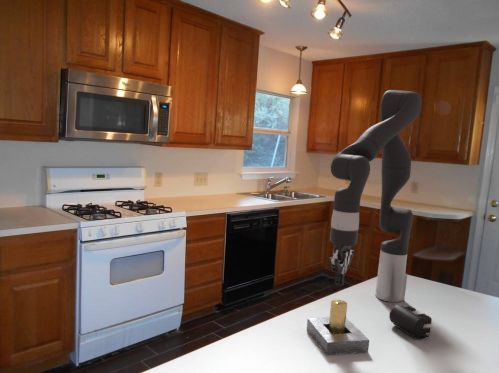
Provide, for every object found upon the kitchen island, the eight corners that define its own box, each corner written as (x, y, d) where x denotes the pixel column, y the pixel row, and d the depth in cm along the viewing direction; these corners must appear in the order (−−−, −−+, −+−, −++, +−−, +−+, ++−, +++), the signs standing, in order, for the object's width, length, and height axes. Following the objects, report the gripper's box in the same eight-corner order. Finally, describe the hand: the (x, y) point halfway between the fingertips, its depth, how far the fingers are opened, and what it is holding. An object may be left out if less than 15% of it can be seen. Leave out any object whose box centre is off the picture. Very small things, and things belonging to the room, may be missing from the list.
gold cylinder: (339, 335, 116) (342, 299, 115) (346, 343, 112) (350, 305, 111) (324, 336, 115) (328, 299, 114) (331, 344, 111) (335, 306, 110)
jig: (344, 327, 122) (345, 316, 121) (368, 352, 108) (369, 339, 108) (306, 329, 119) (307, 318, 119) (326, 355, 105) (327, 342, 105)
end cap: (387, 326, 125) (390, 305, 124) (405, 323, 128) (407, 302, 127) (412, 341, 116) (415, 319, 115) (430, 338, 119) (433, 316, 118)
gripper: (348, 233, 106) (342, 296, 108) (366, 224, 117) (360, 282, 119) (321, 227, 110) (316, 288, 113) (341, 220, 121) (336, 275, 123)
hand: (339, 285), depth 116 cm, fingers closed
